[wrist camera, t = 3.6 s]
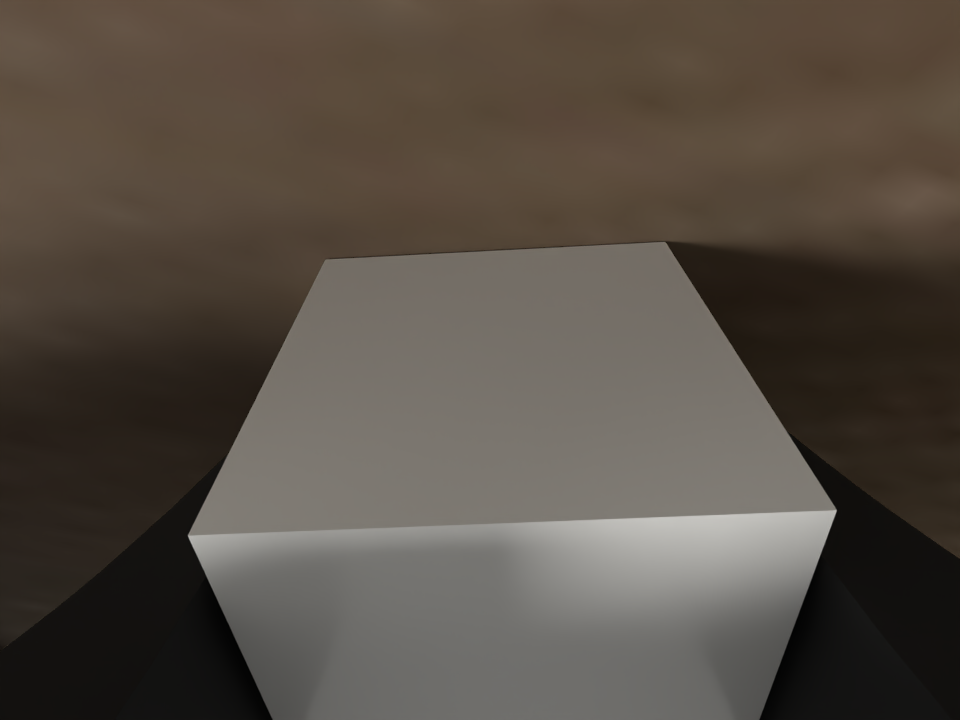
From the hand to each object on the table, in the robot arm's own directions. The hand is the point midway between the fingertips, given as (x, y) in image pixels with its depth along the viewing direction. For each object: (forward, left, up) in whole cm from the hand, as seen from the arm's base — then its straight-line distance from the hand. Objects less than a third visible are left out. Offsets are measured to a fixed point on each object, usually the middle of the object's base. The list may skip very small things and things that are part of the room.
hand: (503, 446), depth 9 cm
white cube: (0, 0, -1) cm, 1 cm away
